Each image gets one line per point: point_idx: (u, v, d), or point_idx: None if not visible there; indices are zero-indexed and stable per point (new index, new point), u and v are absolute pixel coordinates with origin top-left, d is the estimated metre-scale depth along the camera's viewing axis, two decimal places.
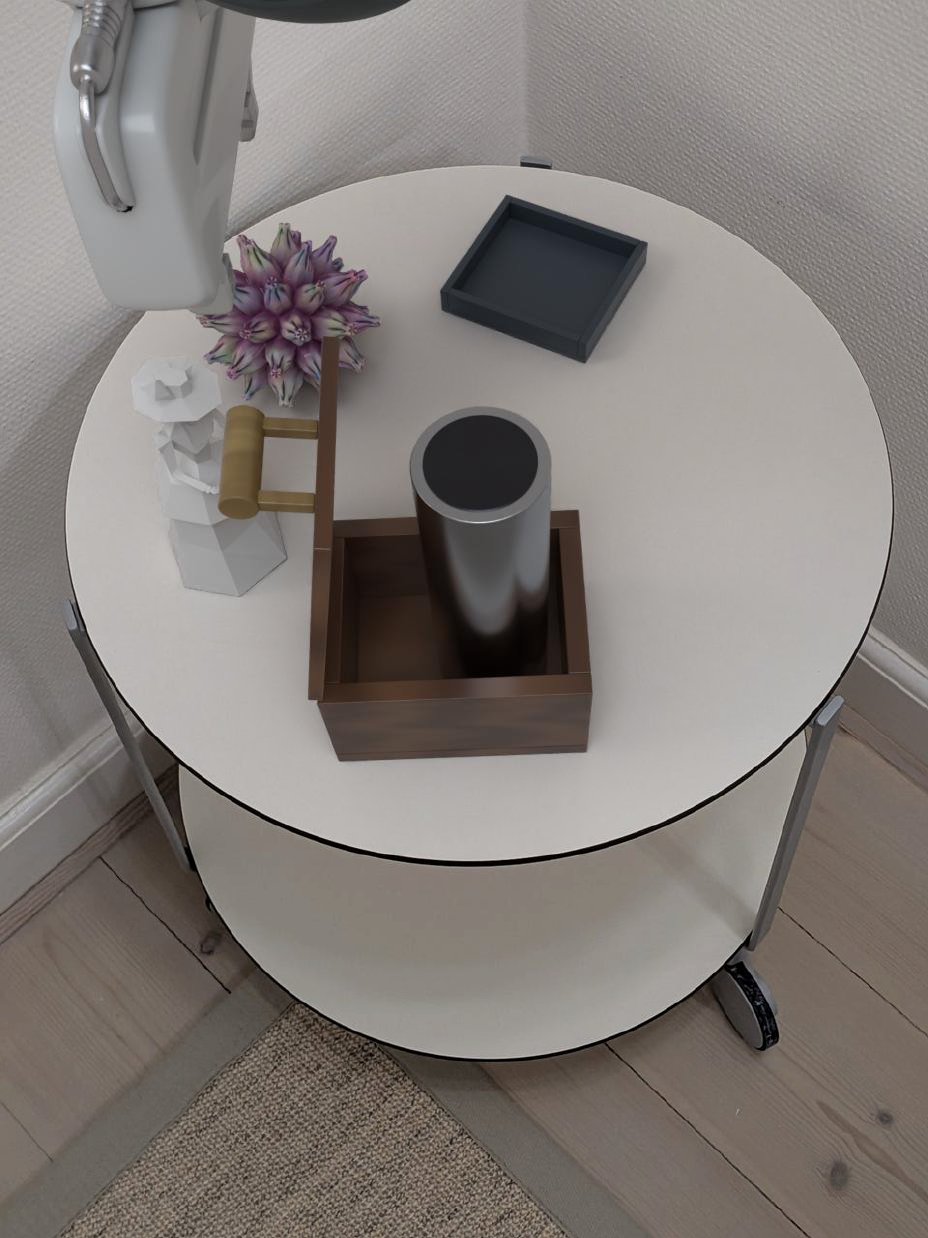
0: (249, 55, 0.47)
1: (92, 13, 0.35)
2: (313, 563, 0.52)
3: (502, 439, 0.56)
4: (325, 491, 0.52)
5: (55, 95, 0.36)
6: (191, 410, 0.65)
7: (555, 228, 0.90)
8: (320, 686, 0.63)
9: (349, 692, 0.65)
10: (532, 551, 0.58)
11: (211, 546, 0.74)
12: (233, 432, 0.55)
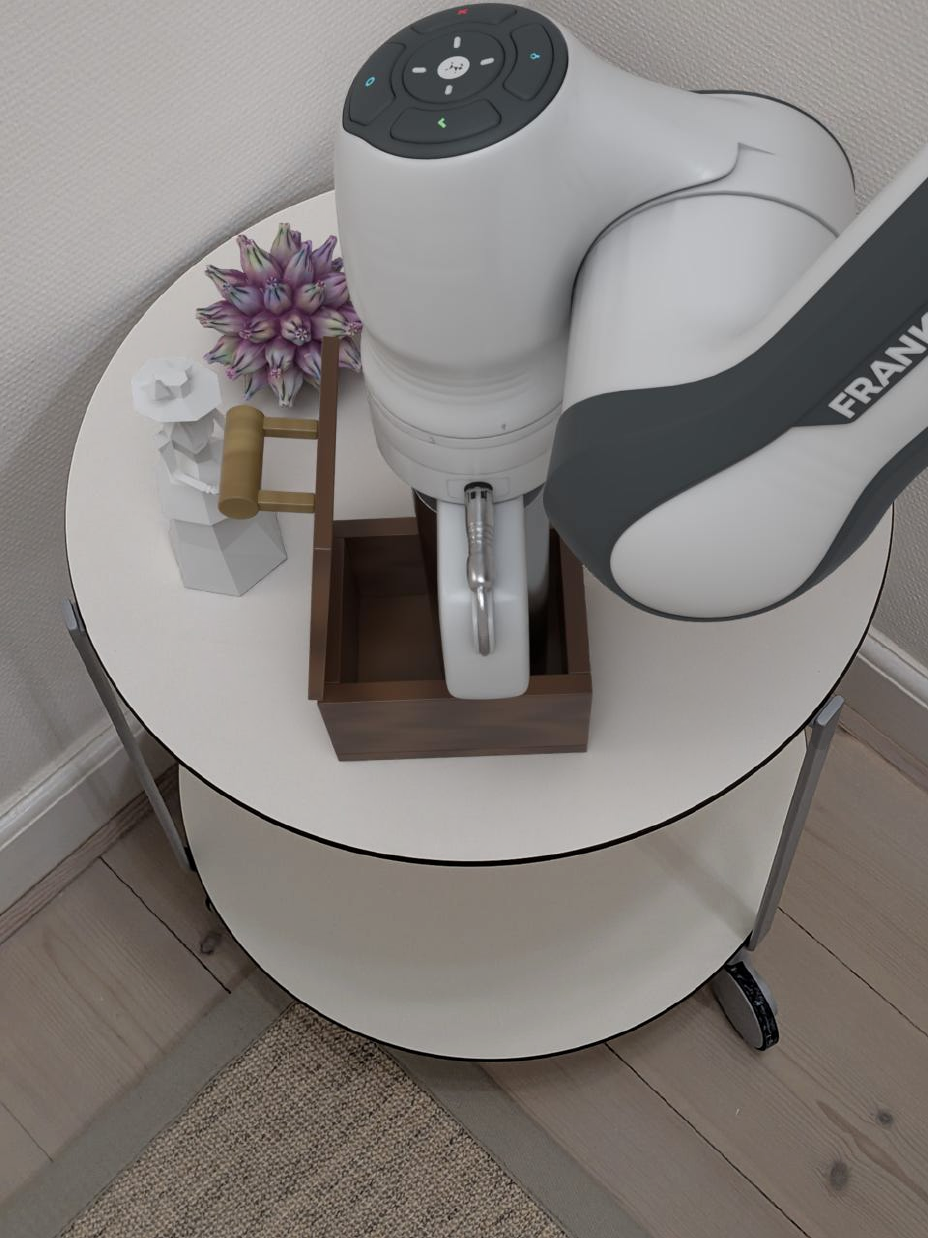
0: None
1: (477, 531, 0.48)
2: (313, 563, 0.52)
3: None
4: (325, 491, 0.52)
5: (443, 581, 0.50)
6: (191, 410, 0.65)
7: None
8: (320, 686, 0.63)
9: (349, 692, 0.65)
10: (531, 551, 0.58)
11: (211, 546, 0.74)
12: (233, 432, 0.55)
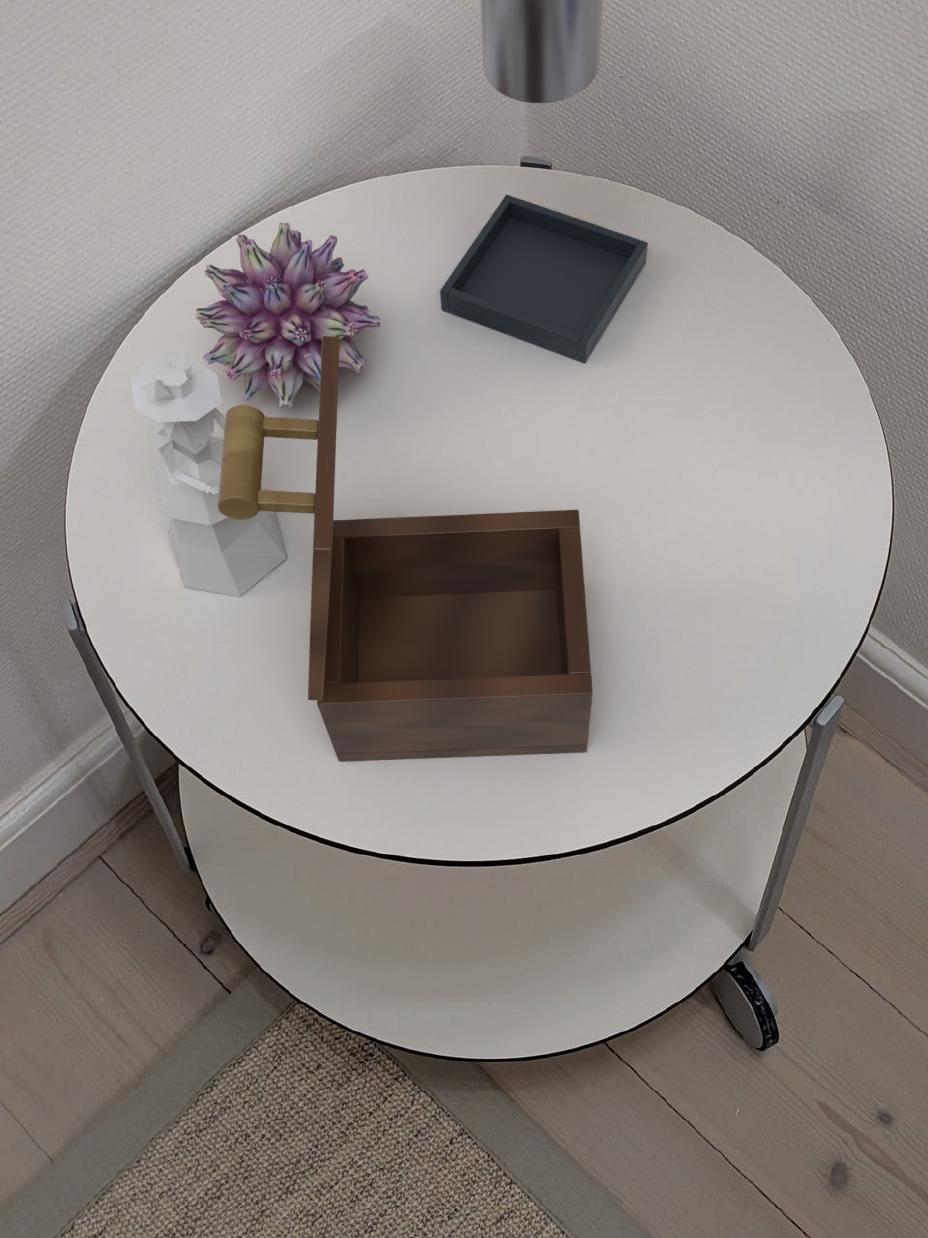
0: None
1: None
2: (313, 563, 0.52)
3: None
4: (325, 491, 0.52)
5: None
6: (191, 410, 0.65)
7: (555, 228, 0.90)
8: (320, 686, 0.63)
9: (349, 692, 0.65)
10: None
11: (211, 546, 0.74)
12: (233, 432, 0.55)
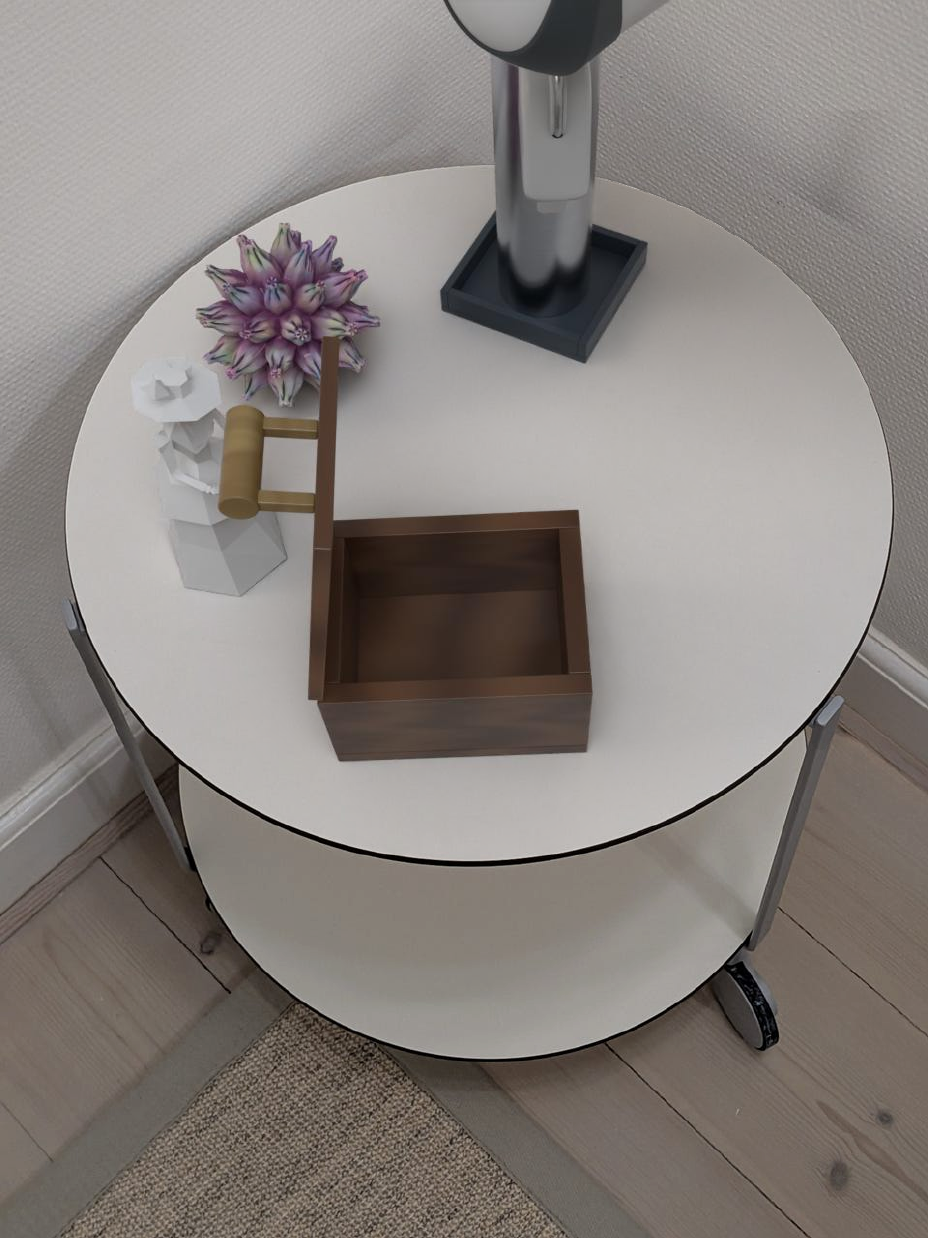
0: None
1: None
2: (313, 563, 0.52)
3: None
4: (325, 491, 0.52)
5: (526, 70, 0.63)
6: (191, 410, 0.65)
7: None
8: (320, 686, 0.63)
9: (349, 692, 0.65)
10: None
11: (211, 546, 0.74)
12: (233, 432, 0.55)
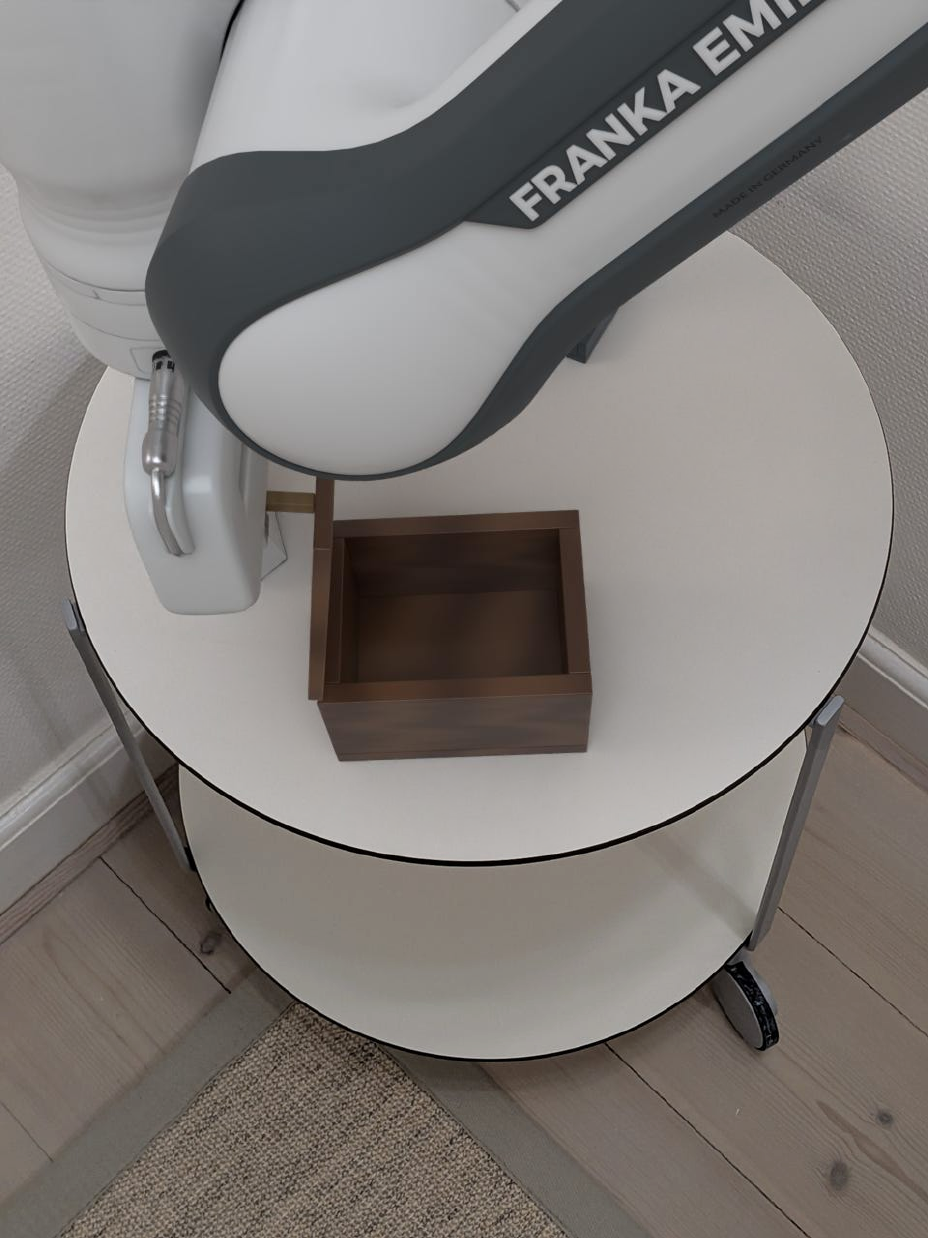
0: None
1: (158, 406, 0.41)
2: (313, 563, 0.52)
3: None
4: (325, 491, 0.52)
5: (125, 467, 0.42)
6: None
7: None
8: (320, 686, 0.63)
9: (349, 692, 0.65)
10: None
11: None
12: None
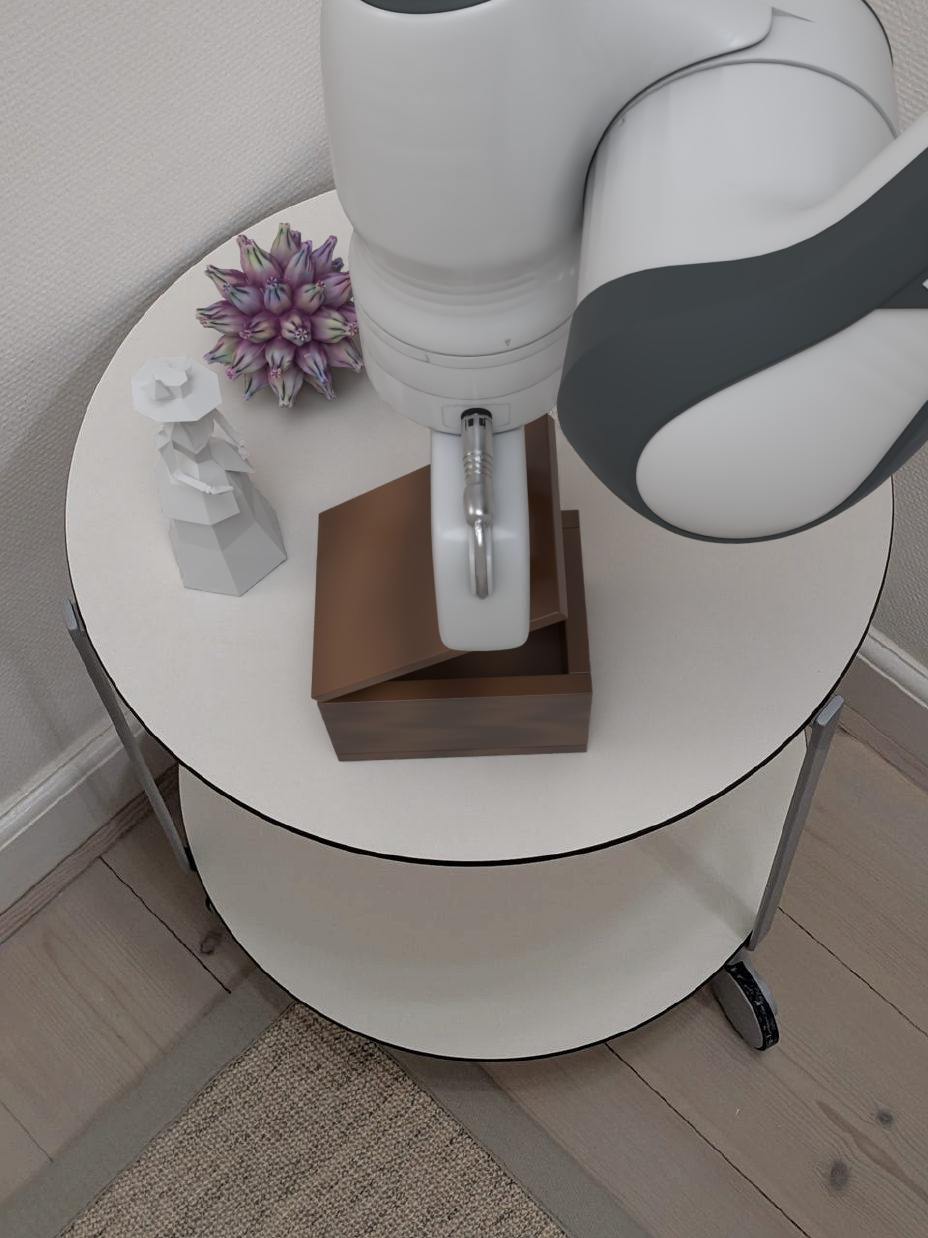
0: None
1: (475, 461, 0.44)
2: (537, 620, 0.57)
3: None
4: (561, 561, 0.58)
5: (437, 516, 0.45)
6: (191, 410, 0.65)
7: None
8: (344, 693, 0.64)
9: None
10: None
11: (211, 546, 0.74)
12: None
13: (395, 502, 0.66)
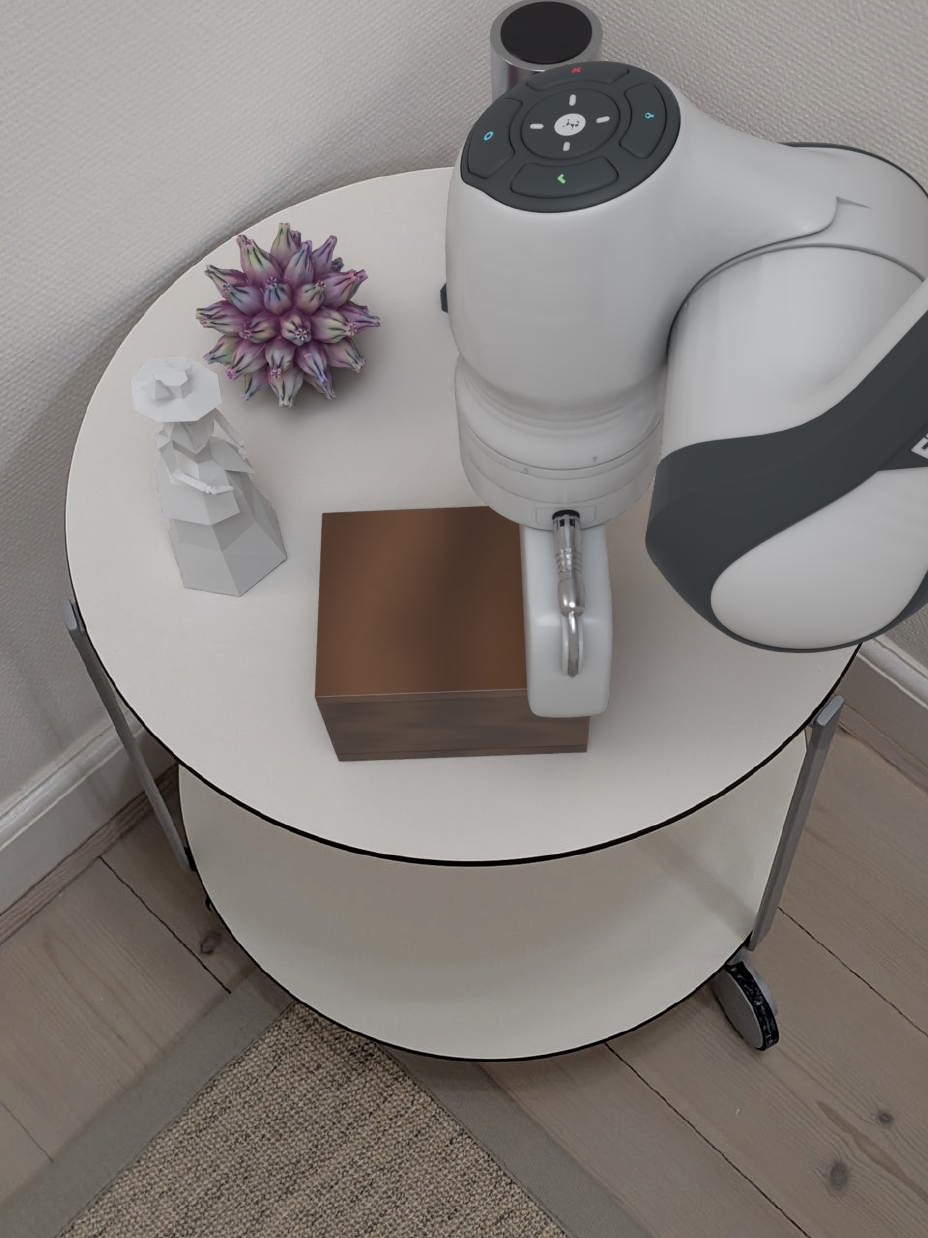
0: None
1: (567, 558, 0.50)
2: None
3: (563, 16, 0.71)
4: None
5: (532, 605, 0.51)
6: (191, 410, 0.65)
7: None
8: (350, 701, 0.65)
9: None
10: None
11: (211, 546, 0.74)
12: None
13: (420, 531, 0.69)
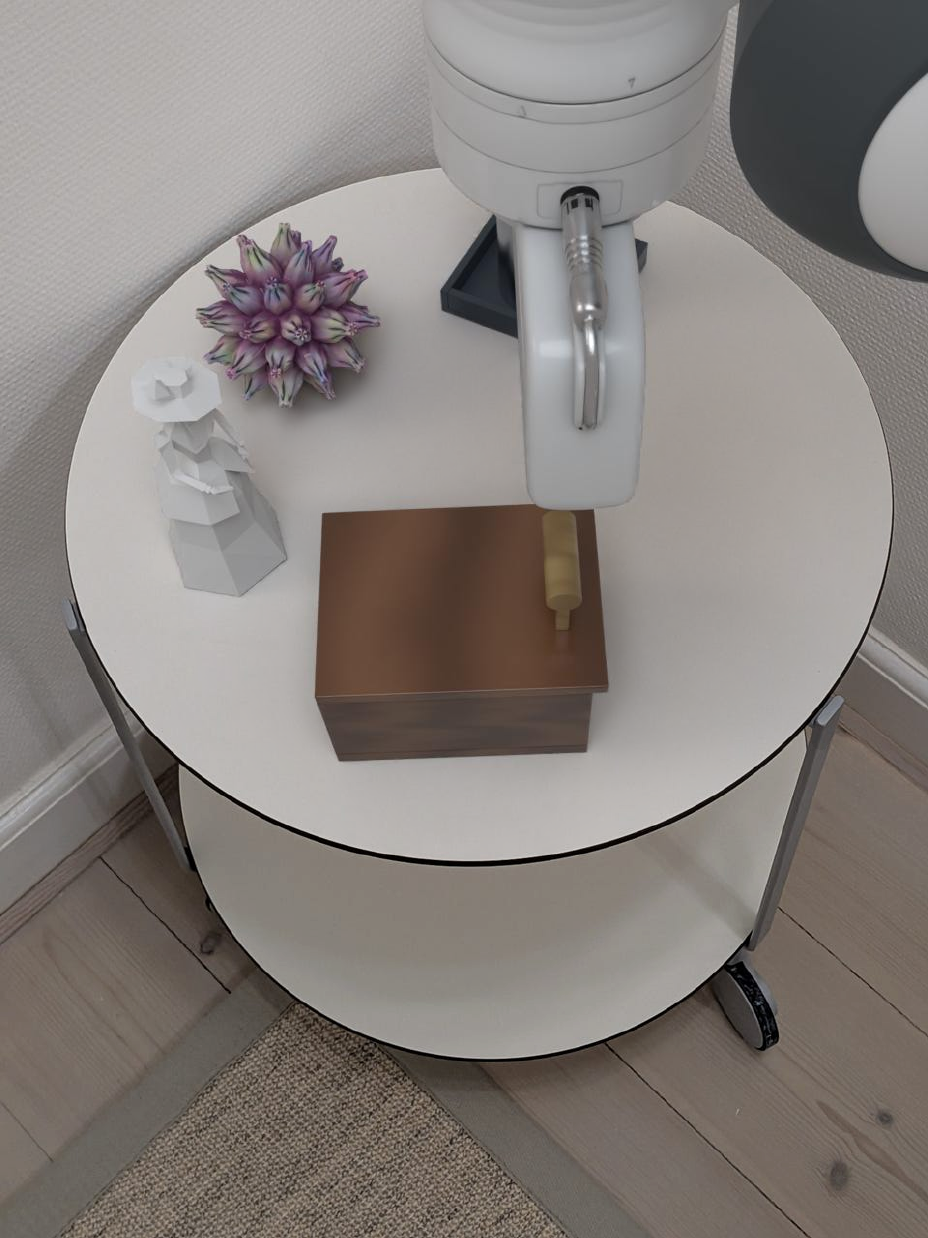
0: None
1: (583, 247, 0.35)
2: (585, 687, 0.64)
3: None
4: None
5: (532, 323, 0.36)
6: (191, 410, 0.65)
7: None
8: (350, 701, 0.65)
9: None
10: None
11: (211, 546, 0.74)
12: (575, 538, 0.63)
13: (420, 531, 0.69)
